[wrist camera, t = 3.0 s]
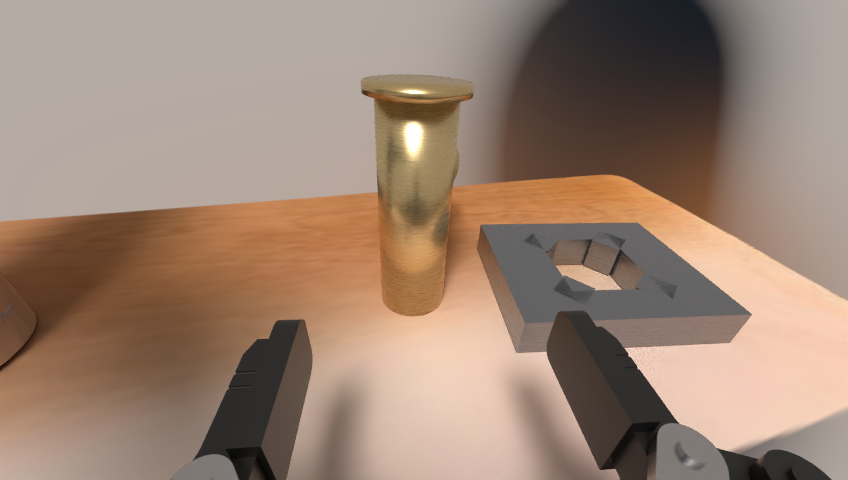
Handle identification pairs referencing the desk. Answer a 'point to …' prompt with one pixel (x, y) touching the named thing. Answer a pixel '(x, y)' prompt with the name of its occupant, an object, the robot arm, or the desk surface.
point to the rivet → (415, 183)
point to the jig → (612, 309)
